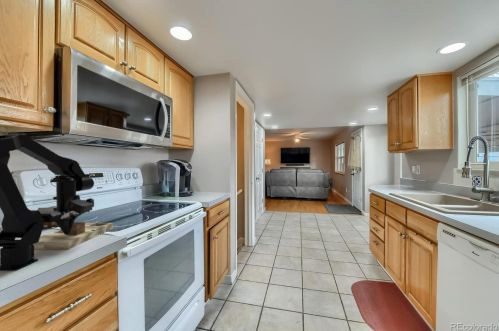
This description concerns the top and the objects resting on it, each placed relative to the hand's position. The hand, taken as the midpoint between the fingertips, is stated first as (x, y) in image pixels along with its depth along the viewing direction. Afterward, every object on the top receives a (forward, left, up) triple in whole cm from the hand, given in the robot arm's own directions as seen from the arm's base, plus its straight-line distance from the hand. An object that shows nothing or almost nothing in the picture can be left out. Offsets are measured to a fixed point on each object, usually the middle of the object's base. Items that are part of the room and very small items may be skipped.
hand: (66, 234), depth 80 cm
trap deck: (+7, +3, -4) cm, 9 cm away
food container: (+21, +24, -4) cm, 32 cm away
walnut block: (+4, 0, -1) cm, 4 cm away
